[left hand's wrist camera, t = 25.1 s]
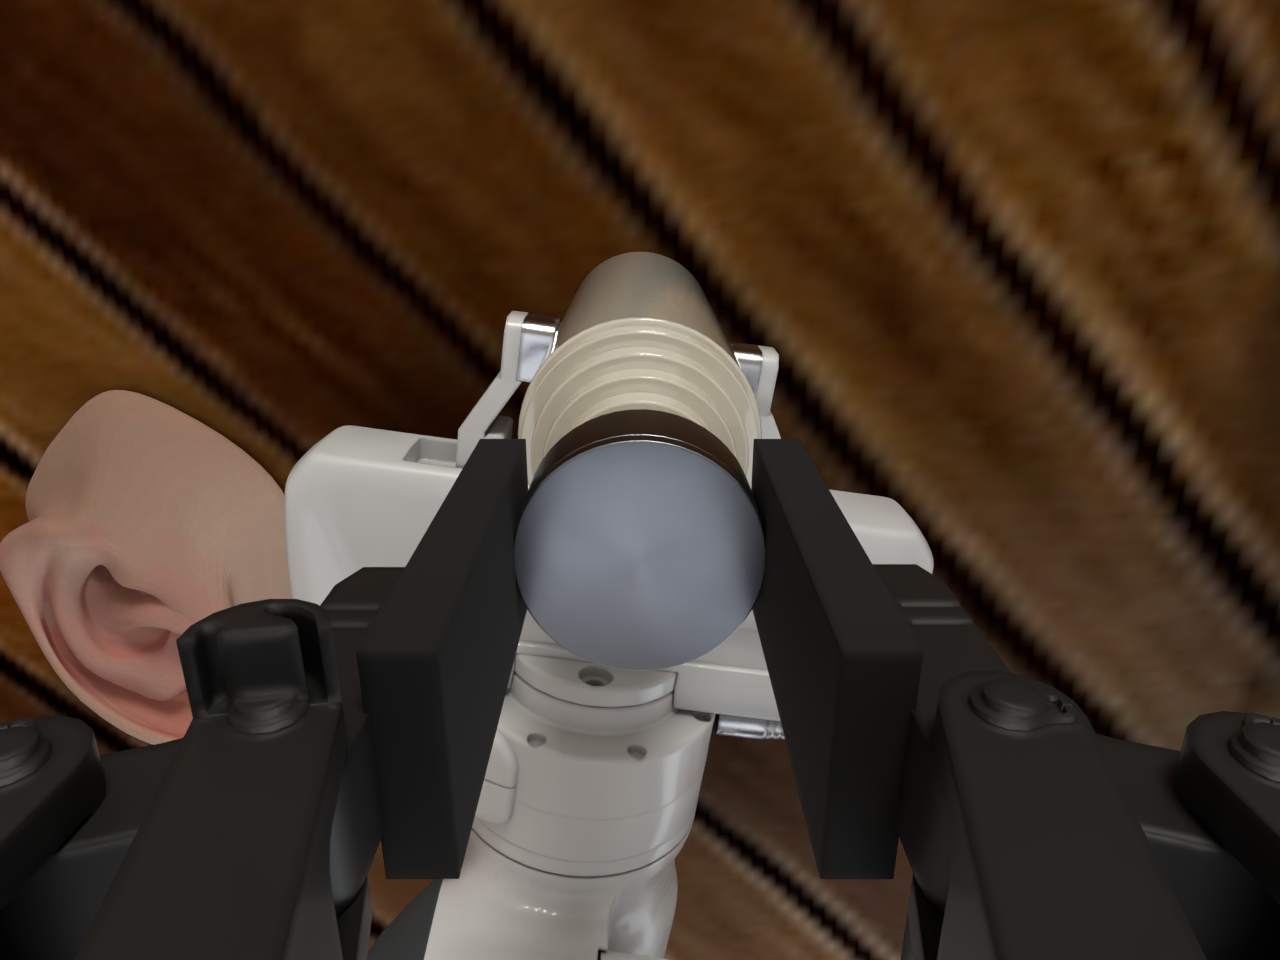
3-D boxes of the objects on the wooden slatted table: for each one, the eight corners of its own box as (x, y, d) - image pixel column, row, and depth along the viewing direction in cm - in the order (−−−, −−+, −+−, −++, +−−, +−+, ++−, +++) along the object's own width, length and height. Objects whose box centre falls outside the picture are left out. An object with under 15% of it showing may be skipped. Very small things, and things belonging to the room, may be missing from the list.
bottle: (733, 354, 32) (856, 605, 14) (609, 414, 33) (572, 727, 15) (672, 225, 31) (721, 314, 12) (544, 292, 31) (408, 470, 13)
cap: (798, 486, 14) (819, 527, 12) (671, 653, 15) (674, 711, 14) (603, 363, 13) (599, 389, 12) (485, 548, 14) (465, 595, 13)
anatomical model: (-38, 387, 28) (303, 489, 30) (41, 362, 32) (341, 453, 33) (-56, 706, 33) (242, 783, 34) (15, 651, 36) (281, 722, 38)
